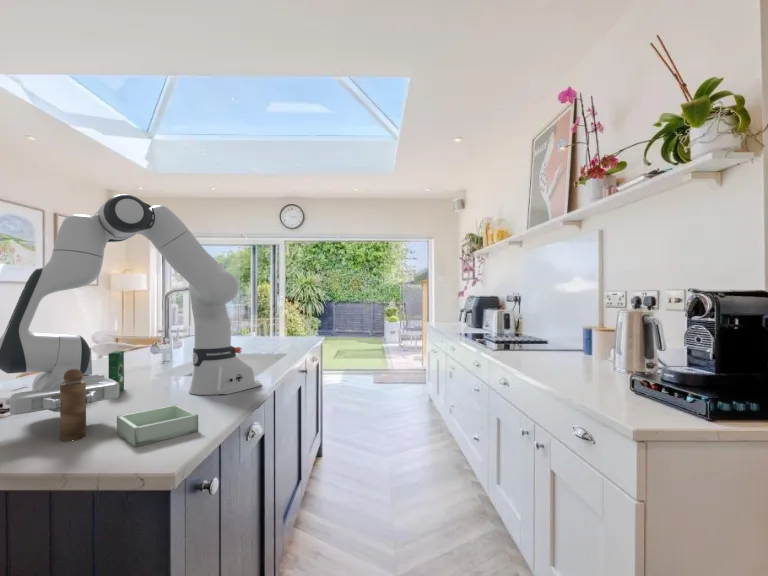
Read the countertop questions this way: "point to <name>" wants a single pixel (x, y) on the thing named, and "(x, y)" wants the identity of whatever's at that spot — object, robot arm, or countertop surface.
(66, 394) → the mill
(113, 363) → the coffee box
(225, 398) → the countertop surface
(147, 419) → the bin
